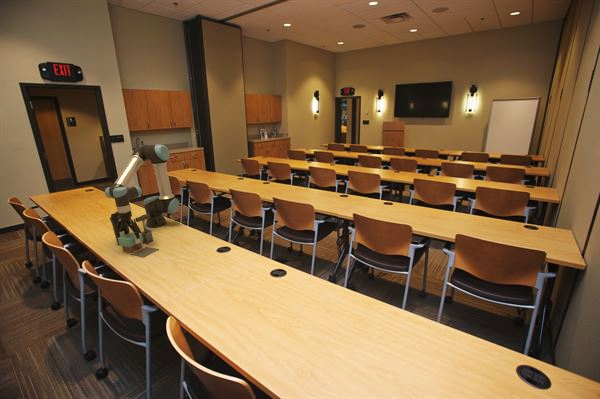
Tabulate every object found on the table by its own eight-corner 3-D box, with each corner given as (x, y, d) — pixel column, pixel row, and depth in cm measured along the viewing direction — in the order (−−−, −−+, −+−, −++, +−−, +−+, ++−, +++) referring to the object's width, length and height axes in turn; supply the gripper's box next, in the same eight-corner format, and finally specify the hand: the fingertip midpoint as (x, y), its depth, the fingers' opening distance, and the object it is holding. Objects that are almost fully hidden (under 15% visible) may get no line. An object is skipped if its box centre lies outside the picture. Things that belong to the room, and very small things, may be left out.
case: (134, 246, 201) (132, 239, 199) (142, 248, 198) (140, 241, 196) (123, 251, 194) (121, 244, 192) (131, 253, 191) (130, 246, 189)
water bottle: (135, 239, 211) (129, 209, 205) (126, 246, 202) (119, 214, 195) (122, 239, 212) (115, 209, 206) (112, 246, 203) (105, 214, 196)
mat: (146, 246, 199) (145, 246, 199) (159, 249, 194) (158, 249, 194) (130, 254, 188) (130, 254, 188) (143, 257, 184) (143, 257, 184)
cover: (132, 238, 200) (131, 231, 199) (143, 240, 197) (141, 233, 195) (119, 245, 192) (117, 237, 190) (129, 247, 188) (128, 239, 186)
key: (138, 233, 201) (135, 218, 197) (151, 228, 208) (148, 214, 205) (146, 236, 195) (143, 220, 192) (159, 231, 202) (156, 216, 199)
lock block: (148, 240, 209) (146, 229, 207) (153, 241, 207) (151, 230, 205) (142, 243, 205) (140, 232, 202) (147, 244, 203) (145, 233, 201)
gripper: (105, 211, 189) (112, 241, 195) (132, 215, 180) (139, 246, 186) (116, 208, 196) (123, 237, 202) (143, 211, 186) (149, 242, 192)
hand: (130, 241), depth 194 cm, fingers open, 13 cm apart
